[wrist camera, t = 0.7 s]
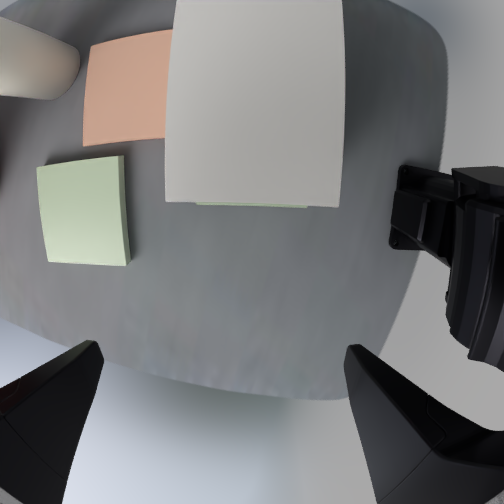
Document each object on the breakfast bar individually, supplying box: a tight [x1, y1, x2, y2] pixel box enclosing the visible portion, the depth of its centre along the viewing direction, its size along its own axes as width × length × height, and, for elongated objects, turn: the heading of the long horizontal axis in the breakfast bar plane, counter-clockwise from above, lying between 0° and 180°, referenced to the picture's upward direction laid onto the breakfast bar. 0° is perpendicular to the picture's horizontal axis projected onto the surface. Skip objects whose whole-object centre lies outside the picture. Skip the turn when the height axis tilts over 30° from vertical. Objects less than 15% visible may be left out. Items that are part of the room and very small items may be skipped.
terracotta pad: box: [83, 29, 173, 146], centre depth 15 cm, size 8×8×1 cm
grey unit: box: [165, 0, 345, 208], centre depth 13 cm, size 8×12×8 cm, turn 178°
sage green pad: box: [37, 155, 131, 266], centre depth 18 cm, size 8×8×1 cm
